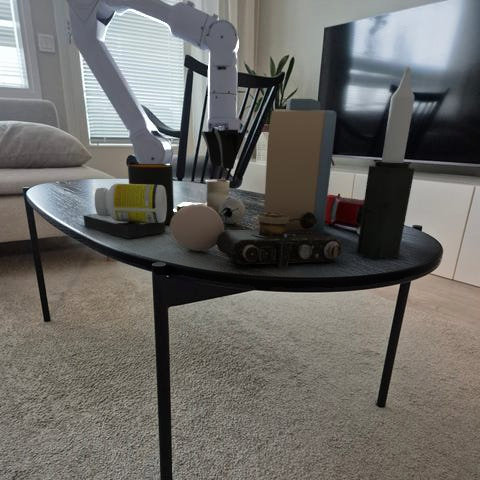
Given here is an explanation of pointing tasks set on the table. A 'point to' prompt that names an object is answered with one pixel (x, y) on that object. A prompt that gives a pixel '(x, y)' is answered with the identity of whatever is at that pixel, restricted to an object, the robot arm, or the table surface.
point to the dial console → (196, 203)
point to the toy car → (344, 211)
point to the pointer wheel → (216, 192)
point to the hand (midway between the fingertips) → (221, 167)
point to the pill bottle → (132, 202)
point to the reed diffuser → (232, 211)
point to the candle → (389, 183)
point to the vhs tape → (123, 226)
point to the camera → (279, 242)
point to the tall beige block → (299, 161)
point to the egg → (196, 227)
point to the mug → (155, 181)
